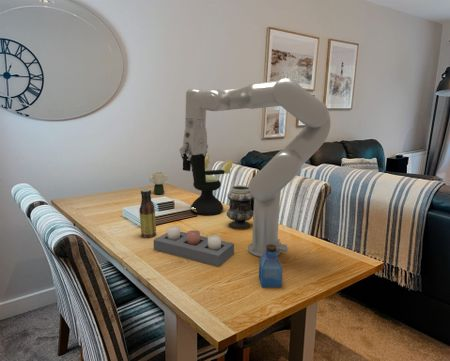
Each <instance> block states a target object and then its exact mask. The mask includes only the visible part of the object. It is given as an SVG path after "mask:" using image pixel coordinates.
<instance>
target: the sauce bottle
mask: <svg viewBox="0 0 450 361" xmlns="http://www.w3.org/2000/svg"><path fill="white" fill-rule="evenodd" d="M140 194H141V201H140V202H141V203H140V206H139V211H138V213H139V220H140V221H139V224H140V225H139V226H140V233H141V236H142V237H143V238H147V239H148V238H153V237H156V235H157V224H156V223H157V222H156V210H155V204H154V202H153V201H152V190H151V189H150V188H143V189H142V188H141V189H140Z"/></svg>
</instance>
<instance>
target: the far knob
mask: <svg viewBox="0 0 450 361" xmlns="http://www.w3.org/2000/svg"><path fill="white" fill-rule="evenodd" d="M166 229H167V231H166V233H167V238H168V239H169V240H174V241H176V240H178V239H180V232H181V227H179V226H176V225H175V226H173V225H172V226H168V227H167V228H166Z"/></svg>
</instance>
